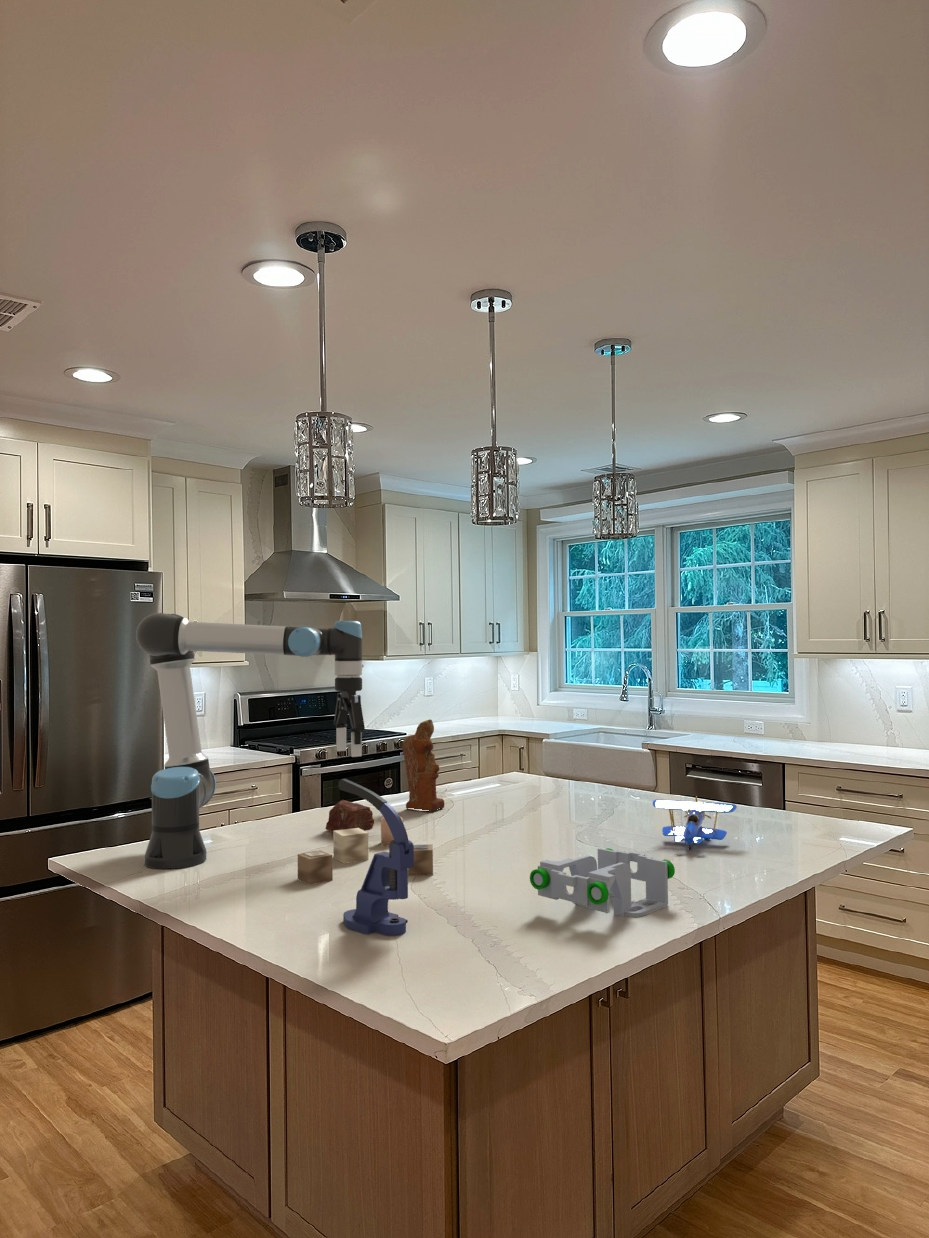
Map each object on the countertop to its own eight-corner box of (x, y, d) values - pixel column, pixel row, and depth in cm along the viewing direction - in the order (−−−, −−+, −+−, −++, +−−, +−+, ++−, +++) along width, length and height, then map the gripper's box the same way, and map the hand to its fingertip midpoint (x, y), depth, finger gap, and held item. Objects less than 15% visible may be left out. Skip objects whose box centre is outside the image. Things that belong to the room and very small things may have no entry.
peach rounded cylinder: (384, 846, 237) (384, 820, 237) (378, 842, 242) (378, 816, 242) (405, 844, 239) (405, 818, 239) (398, 839, 245) (398, 815, 245)
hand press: (423, 929, 167) (422, 784, 168) (391, 942, 161) (390, 791, 162) (357, 911, 180) (356, 776, 180) (324, 922, 173) (323, 781, 174)
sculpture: (448, 808, 289) (447, 719, 290) (433, 813, 282) (432, 721, 283) (416, 805, 296) (415, 717, 297) (400, 809, 289) (400, 719, 290)
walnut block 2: (407, 875, 207) (407, 849, 207) (408, 869, 213) (408, 844, 213) (433, 875, 207) (432, 849, 207) (432, 868, 213) (432, 843, 213)
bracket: (530, 912, 178) (529, 863, 178) (603, 887, 195) (602, 842, 196) (604, 933, 165) (603, 880, 165) (675, 904, 182) (674, 856, 182)
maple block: (342, 863, 219) (342, 835, 219) (333, 857, 225) (333, 830, 225) (368, 860, 222) (368, 832, 223) (358, 854, 229) (358, 827, 229)
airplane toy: (724, 882, 223) (731, 838, 219) (638, 861, 230) (644, 817, 226) (731, 835, 246) (738, 794, 242) (653, 817, 253) (658, 776, 249)
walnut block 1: (309, 885, 200) (309, 858, 200) (297, 879, 205) (297, 853, 205) (332, 880, 204) (332, 854, 204) (320, 875, 208) (320, 849, 208)
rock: (376, 836, 250) (376, 805, 250) (359, 840, 245) (359, 808, 245) (336, 827, 262) (337, 797, 262) (319, 830, 257) (320, 800, 258)
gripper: (376, 677, 229) (376, 757, 229) (347, 674, 252) (348, 747, 251) (349, 678, 226) (349, 759, 225) (322, 675, 249) (322, 749, 248)
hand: (348, 753), depth 238 cm, fingers open, 13 cm apart
